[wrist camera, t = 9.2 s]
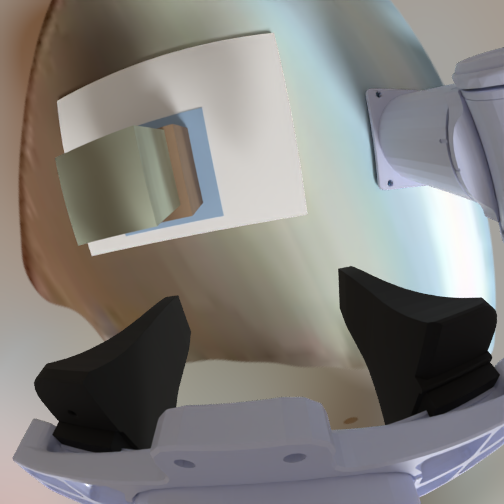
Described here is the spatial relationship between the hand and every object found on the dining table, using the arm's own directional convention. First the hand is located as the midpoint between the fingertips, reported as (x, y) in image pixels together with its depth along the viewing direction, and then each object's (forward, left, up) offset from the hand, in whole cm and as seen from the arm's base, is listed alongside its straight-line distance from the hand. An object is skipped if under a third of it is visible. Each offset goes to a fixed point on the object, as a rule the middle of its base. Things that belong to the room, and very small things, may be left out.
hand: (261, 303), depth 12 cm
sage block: (+6, -6, -5) cm, 10 cm away
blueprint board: (+5, -8, -10) cm, 14 cm away
